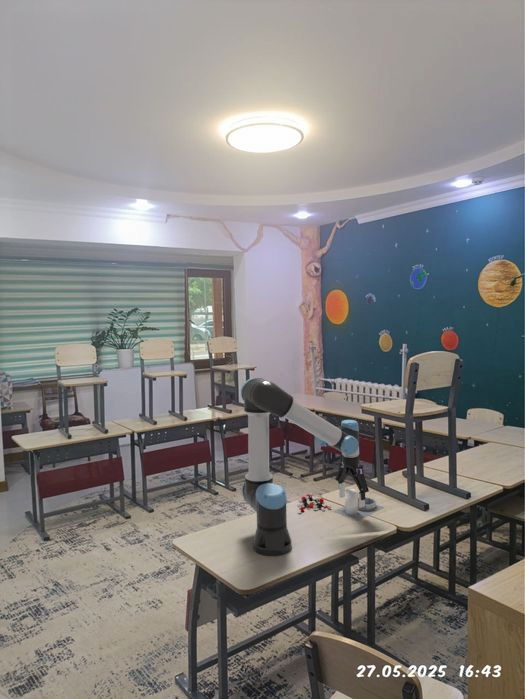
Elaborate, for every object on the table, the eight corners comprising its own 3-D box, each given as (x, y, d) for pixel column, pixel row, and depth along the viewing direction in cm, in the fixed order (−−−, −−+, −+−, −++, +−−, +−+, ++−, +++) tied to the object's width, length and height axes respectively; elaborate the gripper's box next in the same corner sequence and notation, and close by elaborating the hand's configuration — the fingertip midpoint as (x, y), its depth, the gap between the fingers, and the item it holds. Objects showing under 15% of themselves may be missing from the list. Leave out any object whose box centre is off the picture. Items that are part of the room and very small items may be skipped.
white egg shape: (347, 515, 216) (347, 493, 215) (343, 511, 221) (343, 489, 221) (360, 514, 217) (359, 492, 216) (355, 510, 222) (355, 488, 222)
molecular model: (302, 501, 238) (332, 496, 235) (302, 523, 228) (333, 518, 224) (296, 487, 233) (327, 482, 229) (296, 509, 222) (328, 504, 219)
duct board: (358, 523, 211) (358, 519, 211) (333, 514, 221) (332, 511, 221) (384, 509, 225) (384, 506, 225) (359, 501, 235) (359, 499, 235)
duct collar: (358, 511, 220) (358, 506, 220) (350, 503, 230) (350, 498, 230) (379, 509, 222) (379, 504, 222) (371, 501, 232) (371, 496, 231)
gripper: (376, 460, 208) (377, 509, 210) (340, 447, 230) (341, 491, 232) (362, 463, 205) (363, 513, 206) (327, 450, 226) (328, 495, 228)
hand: (351, 501), depth 219 cm, fingers open, 13 cm apart
